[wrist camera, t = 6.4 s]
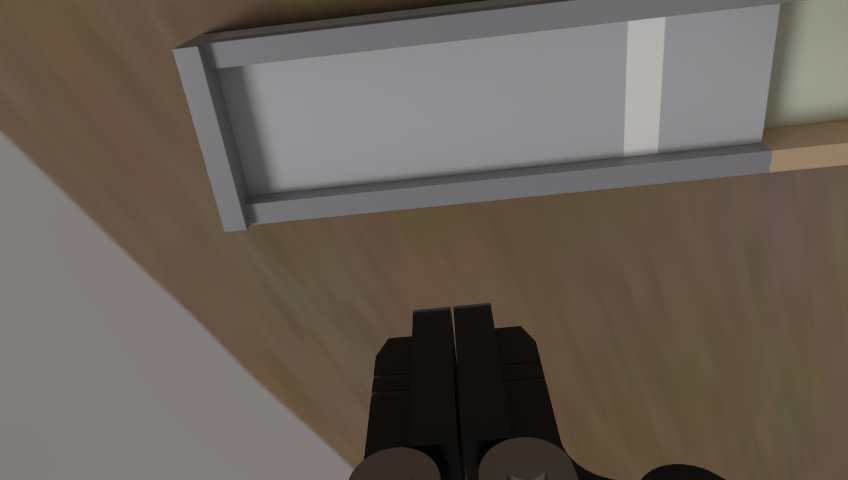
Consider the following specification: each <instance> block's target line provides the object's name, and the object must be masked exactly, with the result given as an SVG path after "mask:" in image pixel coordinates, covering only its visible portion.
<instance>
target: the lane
mask: <svg viewBox="0 0 848 480" xmlns="http://www.w3.org/2000/svg"><path fill="white" fill-rule="evenodd" d="M173 53H174V56H175V60H176V63H177V67H178V70H179V74H180V77H181V81H182V84H183V88H184V91H185V95H186V98H187V102H188V105H189V109H190V112H191V116H192V119H193V123H194V126H195V130H196V133H197V137H198V140H199V144H200V147H201V151H202V154H203V158H204V161H205V165H206V168H207V172H208V175H209V179H210V182H211V186H212V189H213V193H214V196H215V200H216V203H217V207H218V210H219V214H220V217H221V221H222V224H223V228H224V231H225V232H230V231H240V230H247V228H248V227H249V225H254V224H264V223H274V222H284V221H294V220H304V219H314V218H324V217H334V216H343V215H353V214H363V213H373V212H383V211H393V210H403V209H413V208H423V207H433V206H442V205H452V204H462V203H472V202H482V201H492V200H502V199H512V198H522V197H532V196H542V195H551V194H561V193H571V192H581V191H591V190H601V189H611V188H621V187H631V186H641V185H651V184H660V183H670V182H680V181H690V180H700V179H710V178H720V177H730V176H740V175H750V174H759V173H769V172H779V171H789V170H799V169H809V168H819V167H829V166H839V165H848V0H486V1H478V2H469V3H461V4H452V5H444V6H435V7H427V8H419V9H410V10H402V11H393V12H385V13H376V14H368V15H360V16H351V17H343V18H334V19H326V20H317V21H309V22H301V23H292V24H284V25H275V26H267V27H258V28H250V29H242V30H233V31H225V32H216V33H208V34H201V35H199V36H197V37H195V38H193V39H191V40H189V41H188V42H186V43H184V44H182V45H180V46H178V47H176V48H174V49H173Z"/></svg>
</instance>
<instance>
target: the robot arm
mask: <svg viewBox="0 0 848 480" xmlns="http://www.w3.org/2000/svg"><path fill="white" fill-rule="evenodd" d="M454 323H455V338H456V350H455V341H454V332H453V324H452V315H451V308H450V307H443V308H432V309H421V310H414V311H413V330H412V336H410V337H399V338H389V339H388V340H387V341H386V343H385V344H384V346H383V347H382V349H381V350H380V351H379V353H378V354H377V356H376V360H375V369H374V380H373V386H372V396H371V404H370V412H369V421H368V430H367V439H366V447H365V456H364V460H363V461H362V462H361V463H360V464H359V465H358V466H357V467H356V468H355V469H354V471H353V472H352V474H351V476H350V478H349V480H466V477H467V480H613V479H609V478H605V477H601V476H598V475H596V474H593V473H591V472H589V471H587V470H585V469H584V468H582V467H581V466H579V465H578V464H577V463H576V462H574V461H573V460H572V459H571V458H570V456H569V455H568V454H567V453H566V451H565V449H564V448H563V446H562V443H561V440H560V436H559V432H558V428H557V424H556V420H555V416H554V412H553V408H552V404H551V400H550V396H549V392H548V388H547V384H546V381H545V376H544V372H543V368H542V365H541V361H540V357H539V353H538V349H537V345H536V341H535V340H534V339H533V338H532V337H531V336H530V335H529V334H528V333H527V332H526V331H525V330H524V329H523V328H522V327H521V326H517V327H506V328H494V322H493V316H492V310H491V304H490V303H483V304H473V305H462V306H454ZM456 353H457V359H456ZM465 468H466V471H465ZM641 480H725V479H723V478H722V477H720V476H718V475H716V474H714V473H713V472H711V471H708V470H706V469H703V468H700V467H696V466H692V465H685V464H672V465H665V466H661V467H658V468H656V469H654V470H651V471H650V472H649V473H647V474H646V475H645V476H644V477H643V478H642V479H641Z"/></svg>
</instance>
